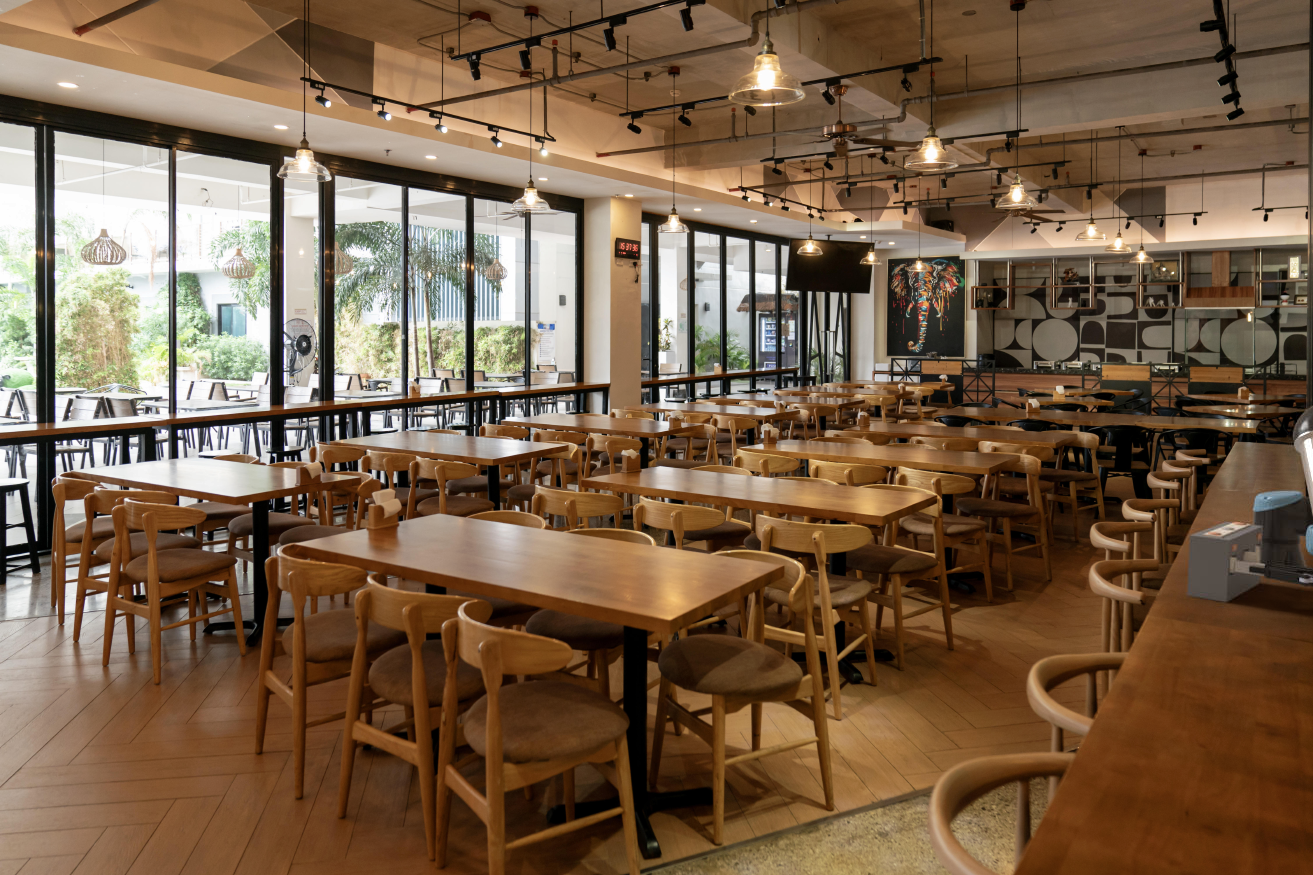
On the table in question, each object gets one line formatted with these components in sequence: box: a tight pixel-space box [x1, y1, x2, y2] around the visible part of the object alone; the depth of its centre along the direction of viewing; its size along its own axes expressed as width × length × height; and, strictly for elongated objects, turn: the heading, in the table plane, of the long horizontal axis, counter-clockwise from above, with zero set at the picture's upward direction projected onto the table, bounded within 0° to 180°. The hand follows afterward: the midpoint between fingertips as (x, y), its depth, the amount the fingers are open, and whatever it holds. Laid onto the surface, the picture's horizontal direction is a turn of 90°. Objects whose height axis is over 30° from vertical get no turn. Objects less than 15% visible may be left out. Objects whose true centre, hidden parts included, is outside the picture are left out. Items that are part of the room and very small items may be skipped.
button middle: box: [1243, 551, 1260, 563], centre depth 238 cm, size 4×6×4 cm
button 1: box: [1230, 557, 1237, 573], centre depth 232 cm, size 4×6×4 cm
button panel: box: [1186, 521, 1263, 603], centre depth 241 cm, size 30×9×17 cm, turn 132°
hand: (1235, 565), depth 230 cm, fingers closed
